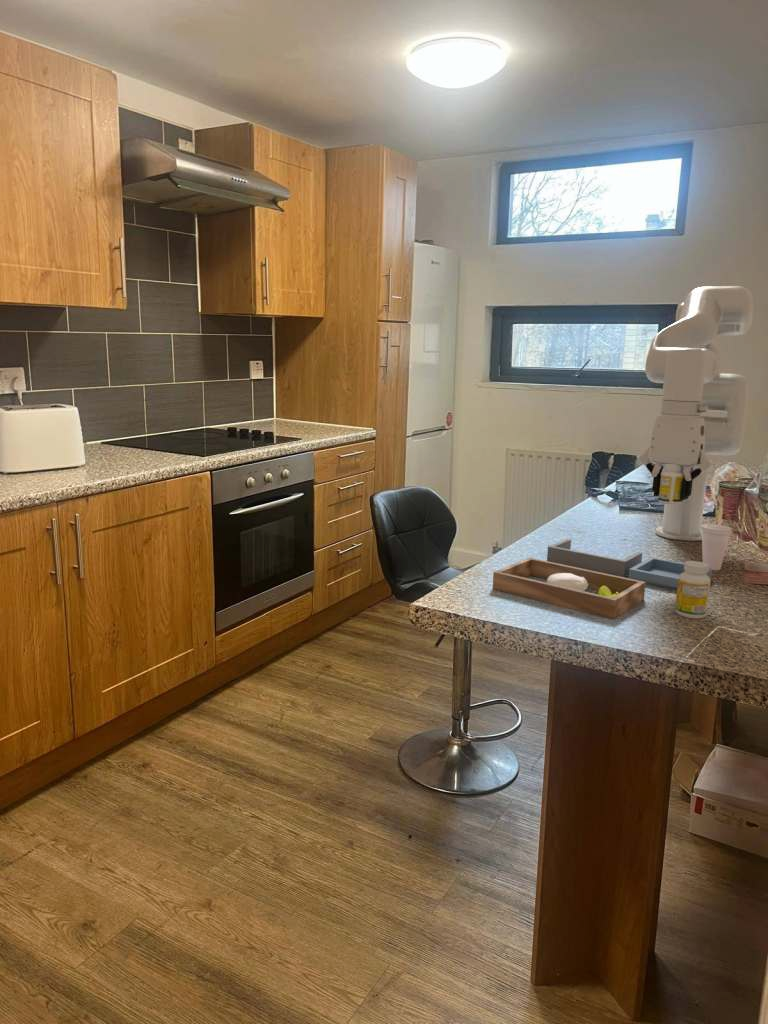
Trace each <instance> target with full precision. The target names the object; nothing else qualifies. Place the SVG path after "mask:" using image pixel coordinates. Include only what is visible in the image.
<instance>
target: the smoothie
mask: <svg viewBox="0 0 768 1024" xmlns="http://www.w3.org/2000/svg"><path fill="white" fill-rule="evenodd" d="M723 511H724V508H723V507H719V515H718V523H703V524H702V525H701V531H702V540H701V550H702V551H701V553H702V555H701V557H702V559H701V560H702V561H701V562H702V563H706V564H707V565H708V568H711V569H712V571H720V570H721V568H722V565H723V561H724V558H725V553H726V549H727V546H728V542H729V539H730V535H731V534H732V532H733V528H732V527H730V526H728V525H725V524H724V525H723V524H722V518H723Z"/></svg>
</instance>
